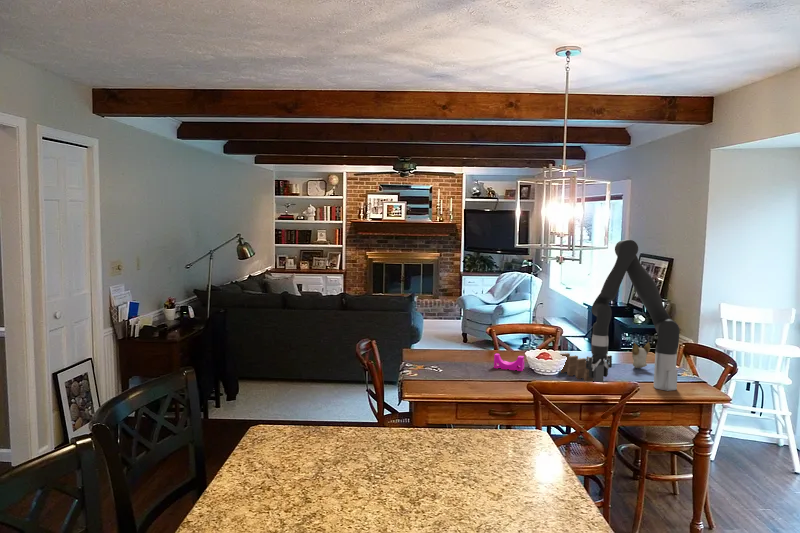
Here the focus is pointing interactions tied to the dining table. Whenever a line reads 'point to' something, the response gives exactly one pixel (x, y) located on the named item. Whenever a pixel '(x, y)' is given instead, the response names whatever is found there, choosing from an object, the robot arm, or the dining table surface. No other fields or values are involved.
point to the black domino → (599, 373)
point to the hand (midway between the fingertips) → (598, 377)
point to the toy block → (509, 363)
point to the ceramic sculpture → (640, 355)
